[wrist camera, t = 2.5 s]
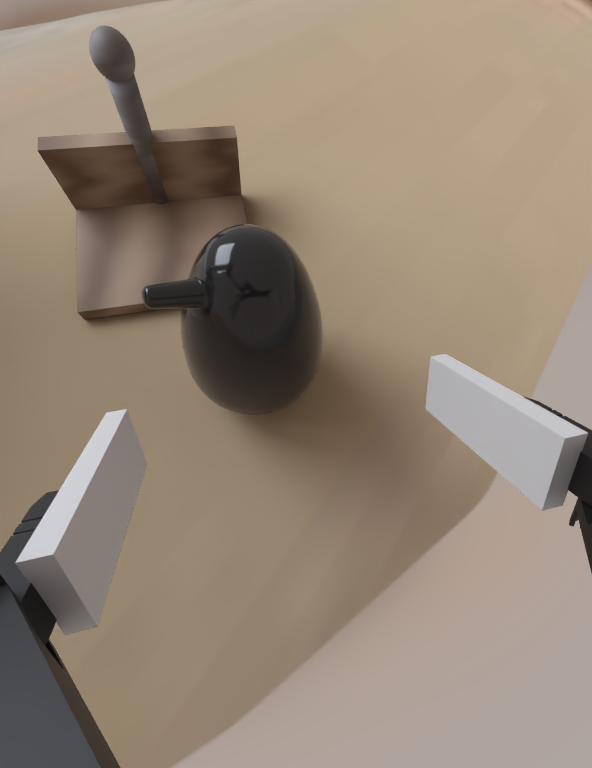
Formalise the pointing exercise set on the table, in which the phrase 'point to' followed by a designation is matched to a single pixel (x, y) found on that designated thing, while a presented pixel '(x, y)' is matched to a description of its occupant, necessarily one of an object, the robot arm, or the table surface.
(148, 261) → the stand
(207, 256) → the pump dispenser
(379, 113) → the table surface
